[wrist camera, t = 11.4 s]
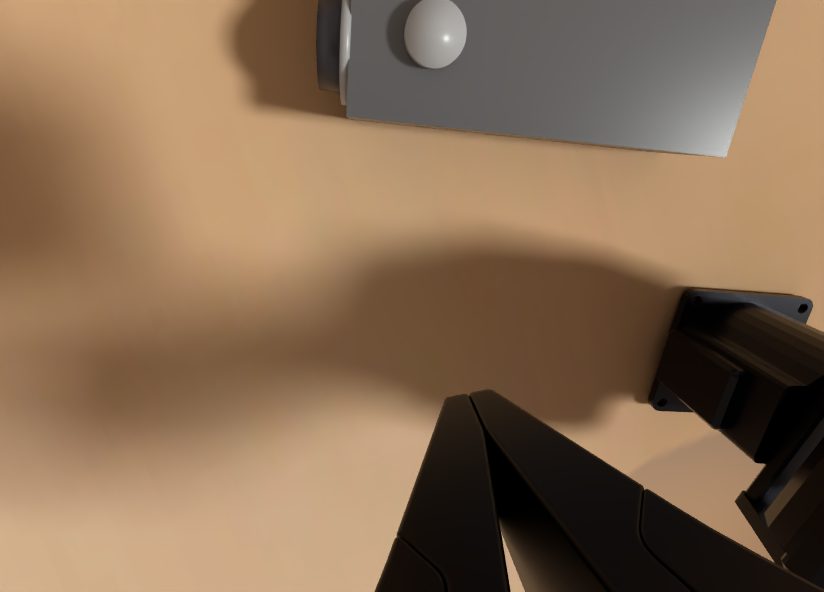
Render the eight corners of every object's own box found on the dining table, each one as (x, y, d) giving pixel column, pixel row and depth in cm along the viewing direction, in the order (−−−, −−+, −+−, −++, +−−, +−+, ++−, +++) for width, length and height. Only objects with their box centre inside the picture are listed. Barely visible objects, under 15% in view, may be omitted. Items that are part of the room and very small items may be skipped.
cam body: (727, -82, 16) (838, -150, 12) (662, 152, 19) (736, 158, 15) (333, -150, 14) (319, -252, 11) (325, 116, 17) (311, 112, 13)
